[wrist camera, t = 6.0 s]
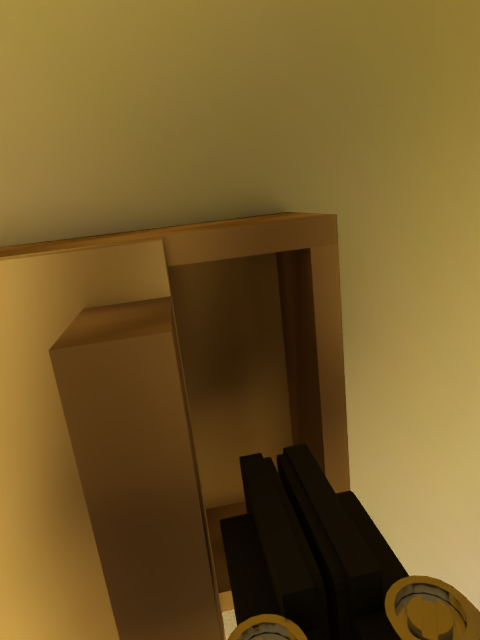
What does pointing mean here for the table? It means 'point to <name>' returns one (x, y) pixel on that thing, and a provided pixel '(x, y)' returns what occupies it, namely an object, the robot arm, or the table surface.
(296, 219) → the brown shallow rectangular box
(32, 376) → the lid
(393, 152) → the table surface
